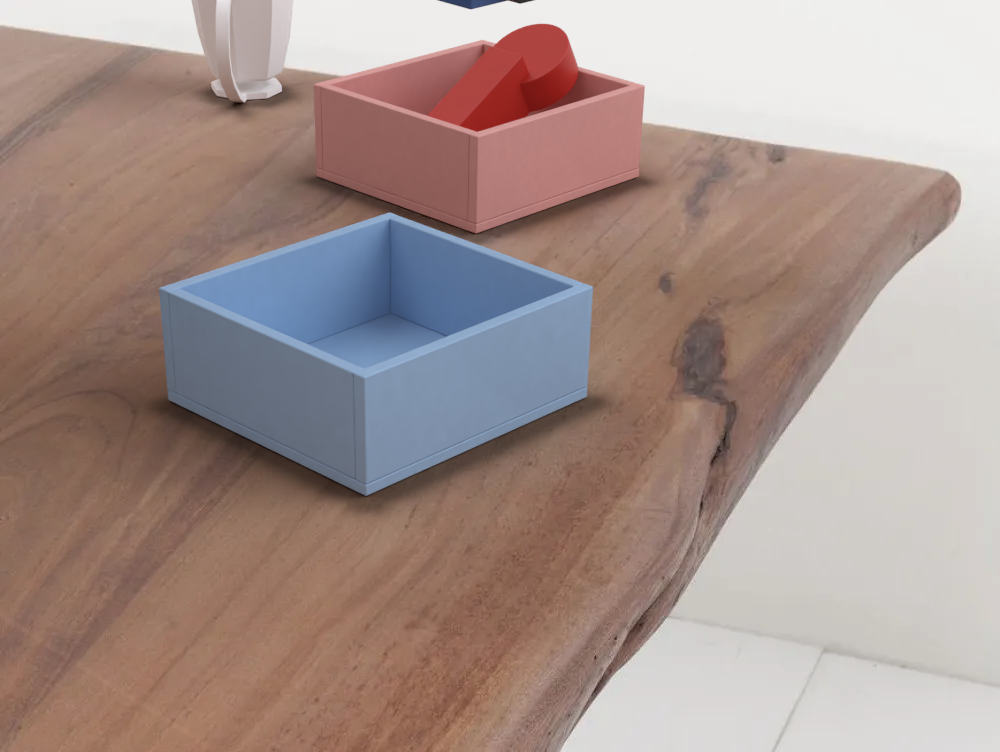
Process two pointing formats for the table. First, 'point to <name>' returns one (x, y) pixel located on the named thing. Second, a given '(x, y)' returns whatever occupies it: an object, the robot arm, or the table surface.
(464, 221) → the rose bin
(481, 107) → the red rounded block
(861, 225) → the table surface
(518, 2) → the robot arm
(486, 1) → the dark blue rounded block
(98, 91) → the table surface
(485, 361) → the blue bin
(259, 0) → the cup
